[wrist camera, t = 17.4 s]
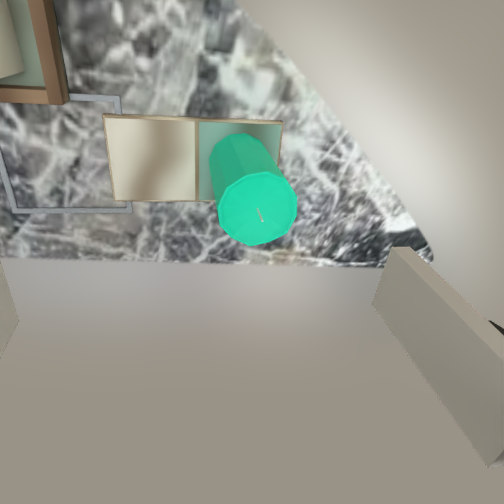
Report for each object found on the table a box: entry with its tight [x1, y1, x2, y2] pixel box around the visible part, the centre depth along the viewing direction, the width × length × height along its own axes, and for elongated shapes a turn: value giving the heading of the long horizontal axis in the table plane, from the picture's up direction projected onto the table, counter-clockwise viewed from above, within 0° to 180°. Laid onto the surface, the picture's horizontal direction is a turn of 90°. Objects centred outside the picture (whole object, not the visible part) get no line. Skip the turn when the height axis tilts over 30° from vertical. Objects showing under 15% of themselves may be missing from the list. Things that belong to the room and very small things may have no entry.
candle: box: [209, 133, 297, 246], centre depth 30 cm, size 6×6×12 cm
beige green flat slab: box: [102, 113, 283, 201], centre depth 34 cm, size 16×8×1 cm, turn 86°
